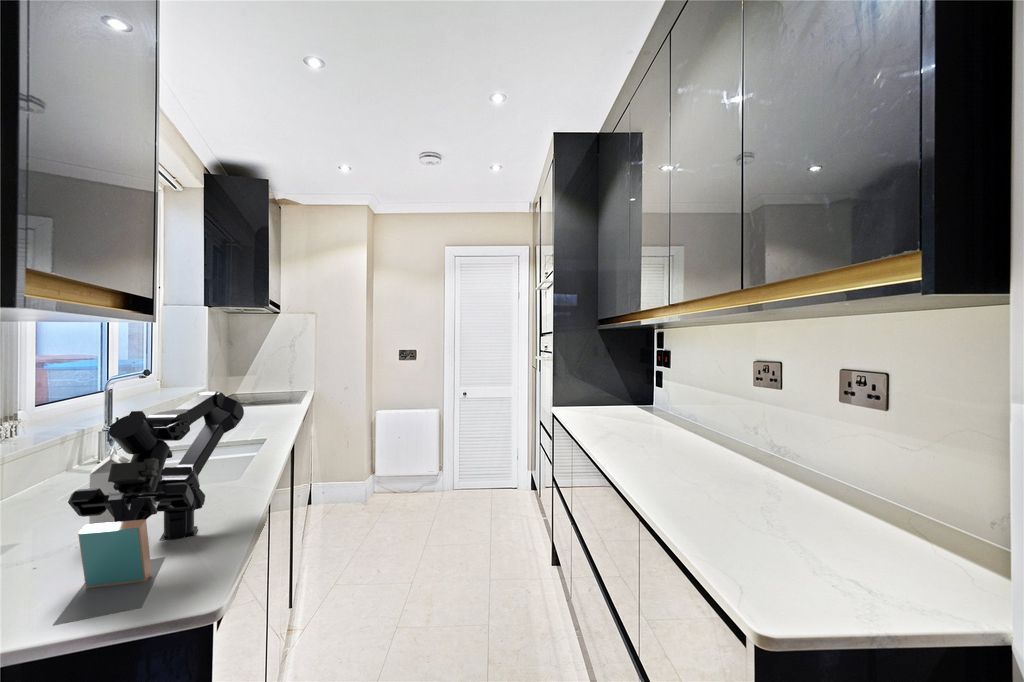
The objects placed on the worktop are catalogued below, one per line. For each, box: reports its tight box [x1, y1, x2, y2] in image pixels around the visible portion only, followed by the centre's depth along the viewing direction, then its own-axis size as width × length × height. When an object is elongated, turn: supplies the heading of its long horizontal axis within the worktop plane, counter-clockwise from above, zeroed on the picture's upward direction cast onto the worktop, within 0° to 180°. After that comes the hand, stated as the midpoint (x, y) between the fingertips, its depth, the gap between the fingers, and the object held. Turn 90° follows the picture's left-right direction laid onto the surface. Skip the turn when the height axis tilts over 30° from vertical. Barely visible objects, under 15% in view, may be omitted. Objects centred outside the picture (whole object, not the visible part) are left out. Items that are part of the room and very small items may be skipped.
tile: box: [78, 519, 152, 588], centre depth 86 cm, size 3×9×11 cm, turn 107°
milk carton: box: [88, 448, 131, 524], centre depth 111 cm, size 7×7×19 cm
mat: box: [52, 556, 166, 626], centre depth 86 cm, size 21×11×1 cm, turn 27°
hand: (118, 542), depth 88 cm, fingers closed
